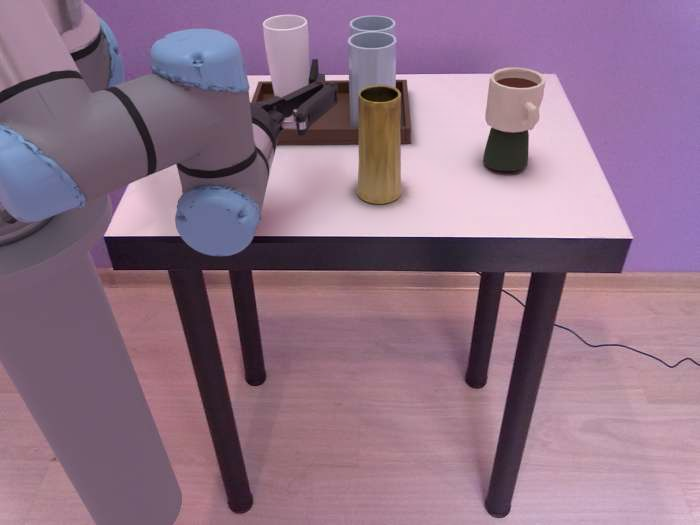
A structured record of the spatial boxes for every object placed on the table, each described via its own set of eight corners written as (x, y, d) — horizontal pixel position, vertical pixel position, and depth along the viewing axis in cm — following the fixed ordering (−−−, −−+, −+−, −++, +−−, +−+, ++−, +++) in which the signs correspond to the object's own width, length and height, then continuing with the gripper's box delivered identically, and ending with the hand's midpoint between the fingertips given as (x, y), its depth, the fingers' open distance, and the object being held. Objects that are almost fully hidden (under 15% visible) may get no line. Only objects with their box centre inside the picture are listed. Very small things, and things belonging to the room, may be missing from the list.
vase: (384, 210, 81) (385, 109, 72) (347, 195, 84) (344, 96, 75) (410, 189, 85) (414, 90, 76) (373, 175, 88) (373, 78, 79)
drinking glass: (306, 102, 105) (299, 11, 95) (320, 119, 100) (314, 25, 90) (267, 110, 103) (256, 18, 93) (280, 128, 98) (269, 32, 89)
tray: (243, 145, 96) (241, 129, 94) (260, 95, 109) (258, 81, 107) (410, 143, 94) (411, 128, 93) (406, 93, 108) (406, 79, 106)
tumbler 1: (351, 117, 102) (348, 31, 93) (352, 98, 107) (350, 15, 98) (394, 117, 101) (395, 30, 92) (393, 98, 107) (394, 15, 98)
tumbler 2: (349, 138, 96) (347, 49, 87) (351, 117, 102) (348, 31, 93) (395, 138, 96) (396, 48, 87) (394, 117, 101) (395, 30, 92)
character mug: (545, 180, 86) (564, 91, 77) (498, 188, 84) (511, 98, 76) (510, 142, 94) (523, 58, 85) (466, 150, 92) (475, 65, 84)
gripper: (137, 177, 71) (181, 96, 87) (354, 176, 70) (357, 94, 87) (120, 117, 66) (169, 43, 83) (353, 115, 66) (357, 40, 82)
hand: (266, 69), depth 85 cm, fingers open, 13 cm apart
